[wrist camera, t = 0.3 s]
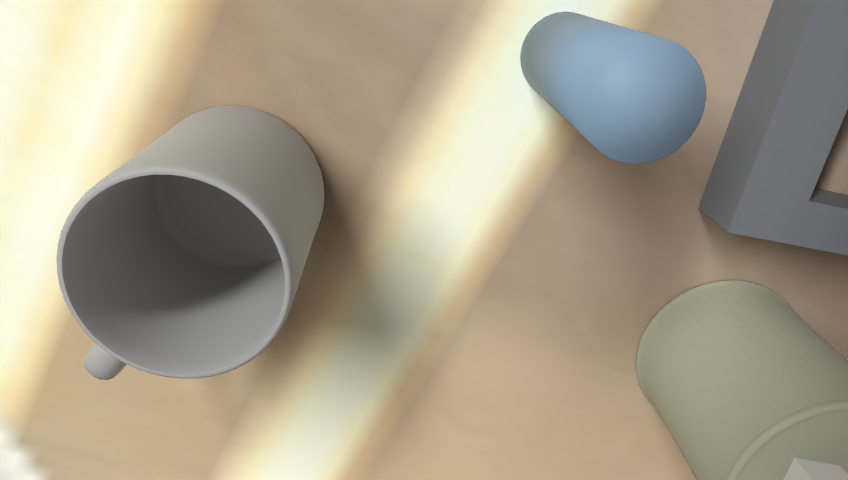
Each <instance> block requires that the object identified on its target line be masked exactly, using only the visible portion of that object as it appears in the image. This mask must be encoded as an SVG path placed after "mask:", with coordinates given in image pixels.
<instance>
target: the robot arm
mask: <svg viewBox="0 0 848 480" xmlns="http://www.w3.org/2000/svg"><path fill="white" fill-rule="evenodd" d="M784 480H848V474H847V473H846V472H845V471H844V470H843V468H842V467H841V466H839V465H833V464H828V463H822V462H816V461H811V460H805V459H799V458H794V460H793V462H792V464H791V466H790V468H789V470H788V472H787V474H786V476H785V478H784Z"/></svg>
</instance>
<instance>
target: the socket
mask: <svg viewBox="0 0 848 480" xmlns="http://www.w3.org/2000/svg"><path fill="white" fill-rule="evenodd" d="M847 109H848V0H774V2H773V5H772V7H771V10H770V13H769V16H768V18H767V21H766V24H765V27H764V29H763V32H762V35H761V38H760V40H759V43H758V46H757V49H756V52H755V54H754V57H753V60H752V63H751V65H750V68H749V71H748V74H747V76H746V79H745V82H744V85H743V87H742V90H741V93H740V96H739V98H738V101H737V104H736V107H735V109H734V112H733V115H732V118H731V120H730V123H729V126H728V129H727V131H726V134H725V137H724V140H723V142H722V145H721V148H720V151H719V153H718V156H717V159H716V162H715V164H714V167H713V170H712V173H711V175H710V178H709V181H708V184H707V186H706V189H705V192H704V195H703V197H702V200H701V203H700V206H699V208H698V209H700V210H701V211H702V212H703V213H704V214H706V215H707V216H708V217H709V218H710V219H712V220H713V221H714V222H715V223H717V224H718V225H719V226H720V227H721V228H723V229H724V230H725V231H726V232H727V233H732V234H738V235H743V236H748V237H753V238H758V239H764V240H769V241H774V242H779V243H785V244H790V245H795V246H800V247H806V248H811V249H816V250H821V251H827V252H832V253H837V254H842V255H848V195H845V194H840V193H835V192H830V191H825V190H820V189H815V185H816V183H817V181H818V178H819V176H820V174H821V171H822V169H823V166H824V164H825V162H826V159H827V157H828V155H829V152H830V150H831V147H832V145H833V143H834V140H835V138H836V136H837V133H838V131H839V128H840V126H841V124H842V121H843V119H844V116H845V114H846V112H847Z"/></svg>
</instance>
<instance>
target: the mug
mask: <svg viewBox="0 0 848 480" xmlns="http://www.w3.org/2000/svg"><path fill="white" fill-rule="evenodd" d="M324 197H325V194H324V182H323V177H322V173H321V170H320V167H319V164H318V162H317V160H316V158H315V156H314V154H313V152H312V151H311V149H310V147H309V146H308V144H307V143H306V142H305V141H304V139H303V138H302V137H301V136H300V135H299V134H298V133H297V132H296V131H295V130H294V129H293V128H292V127H290V126H289V125H287V124H286V123H285V122H283V121H282V120H280V119H278V118H276V117H275V116H273V115H271V114H268V113H266V112H263V111H261V110H257V109H253V108H249V107H242V106H219V107H212V108H209V109H205V110H202V111H199V112H197V113H195V114H192V115H190V116H188V117H187V118H185V119H184V120H182V121H180V122H179V123H177V124H176V125H175V126H174V127H173V128H171V129H170V130H169V131H168V132H167V133H165V134H164V135H163V136H161V137H160V138H159V139H157V140H156V141H155V142H153V143H152V144H150V145H149V146H148V147H146V148H145V149H144V150H142V151H141V152H139V153H138V154H137V155H135V156H134V157H132V158H131V159H130V160H128V161H127V162H126V163H124V164H123V165H121V166H120V167H119V168H117V169H116V170H114V171H113V172H112V173H110V174H109V175H108V176H106V177H105V178H103V179H102V180H101V181H99V182H98V183H97V184H96V185H95V186H93V187H92V188H91V189H90V190H89V191H88V192H86V193H85V195H84V196H83V197H82V198H81V199H80V200H79V201H78V203H77V204H76V205H75V206H74V208H73V209H72V211H71V213H70V214H69V216H68V217H67V219H66V222H65V224H64V226H63V229H62V231H61V235H60V239H59V243H58V250H57V274H58V279H59V284H60V288H61V291H62V294H63V297H64V299H65V302H66V304H67V306H68V308H69V310H70V312H71V314H72V315H73V317H74V318H75V320H76V321H77V323H78V324H79V326H80V327H81V328H82V329H83V330H84V331H85V333H86V334H87V335H88V336H89V337H90V338H91V339H92V340H93V341H94V342H95V343H96V344H95V346H94V347H93V348H92V349H91V351H90V352H89V353H88V355H87V357H86V359H85V367H86V369H87V371H88V372H89V373H90V374H91V375H92V376H94V377H96V378H98V379H100V380H109V379H112V378H114V377H115V376H116V375H117V374H118V373H119V372H120V371H121V370H122V369H123V368H124V367H125V366H126V364H128V365H130V366H132V367H134V368H137V369H139V370H142V371H145V372H148V373H151V374H155V375H160V376H165V377H172V378H203V377H210V376H214V375H218V374H222V373H225V372H228V371H231V370H233V369H236V368H238V367H240V366H242V365H244V364H246V363H247V362H249V361H251V360H252V359H253V358H255V357H256V356H257V355H259V354H260V353H261V352H262V351H263V350H264V349H265V348H267V347H268V346H269V345H270V344H271V342H272V341H273V340H274V338H275V337H276V336H277V335H278V333H279V332H280V330H281V328H282V327H283V325H284V323H285V321H286V319H287V317H288V314H289V312H290V309H291V307H292V304H293V301H294V298H295V295H296V292H297V289H298V285H299V282H300V279H301V276H302V273H303V270H304V267H305V264H306V260H307V257H308V254H309V251H310V248H311V245H312V242H313V239H314V236H315V234H316V231H317V229H318V226H319V223H320V220H321V217H322V212H323V208H324Z"/></svg>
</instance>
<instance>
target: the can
mask: <svg viewBox="0 0 848 480" xmlns="http://www.w3.org/2000/svg"><path fill="white" fill-rule="evenodd" d="M636 370H637V376H638V381H639V384H640V386H641V389H642V391H643V392H644V394H645V396H646V397H647V399H648V400H649V401H650V402H651V404H652V405H653V406H654V407H655V408H656V409H657V411H658V413H659V414H660V416H661V418H662V419H663V421H664V423H665V424H666V426H667V428H668V429H669V431H670V433H671V435H672V436H673V438H674V440H675V442H676V443H677V445H678V447H679V449H680V450H681V452H682V454H683V456H684V457H685V459H686V461H687V463H688V465H689V466H690V468H691V470H692V472H693V473H694V475H695V477H696V479H697V480H784V478H785V476H786V474H787V472H788V470H789V468H790V466H791V464H792V462H793V460H794V458H799V459H805V460H811V461H816V462H822V463H828V464H833V465H839V466H841V467H842V468H843V470H844V471H845V472H846V473H847V474H848V361H847V360H846V359H845V358H844V357H843V356H841V355H840V354H839V353H838V352H837V351H836V350H835V349H834V348H832V347H831V346H830V345H829V344H828V343H827V342H826V341H825V340H823V339H822V338H821V337H820V336H819V335H818V334H817V333H816V332H815V331H814V330H812V329H811V328H810V327H809V326H808V325H807V324H806V323H805V322H804V321H803V320H802V319H801V318H799V317H798V316H797V315H796V314H795V313H794V311H793V309H792V308H791V307H790V305H789V304H788V303H787V302H786V301H785V300H784V299H783V298H782V297H781V296H779V295H778V294H777V293H775V292H774V291H772V290H770V289H768V288H766V287H764V286H762V285H759V284H756V283H752V282H747V281H740V280H722V281H715V282H710V283H706V284H703V285H700V286H697V287H694V288H692V289H690V290H688V291H686V292H684V293H682V294H680V295H679V296H677V297H675V298H674V299H673V300H671V301H670V302H669V303H667V304H666V305H665V306H664V307H663V308H662V309H661V310H660V311H659V312H658V313H657V314H656V315H655V316H654V318H653V319H652V320H651V321H650V323H649V325H648V326H647V328H646V329H645V331H644V333H643V335H642V338H641V340H640V343H639V347H638V350H637V357H636Z"/></svg>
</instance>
